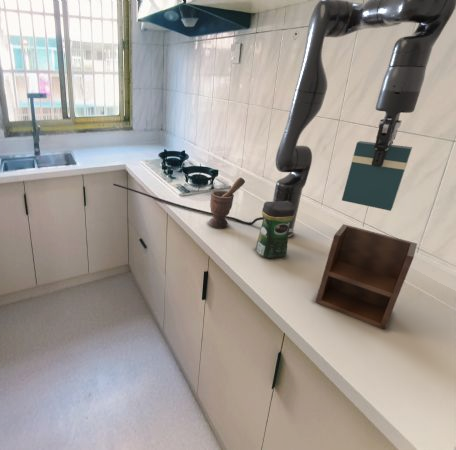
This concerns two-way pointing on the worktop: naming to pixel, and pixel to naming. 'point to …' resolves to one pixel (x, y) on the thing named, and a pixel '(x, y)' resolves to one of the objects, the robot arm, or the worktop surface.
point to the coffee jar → (275, 229)
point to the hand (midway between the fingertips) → (377, 164)
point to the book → (375, 176)
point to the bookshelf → (365, 274)
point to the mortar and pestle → (222, 204)
